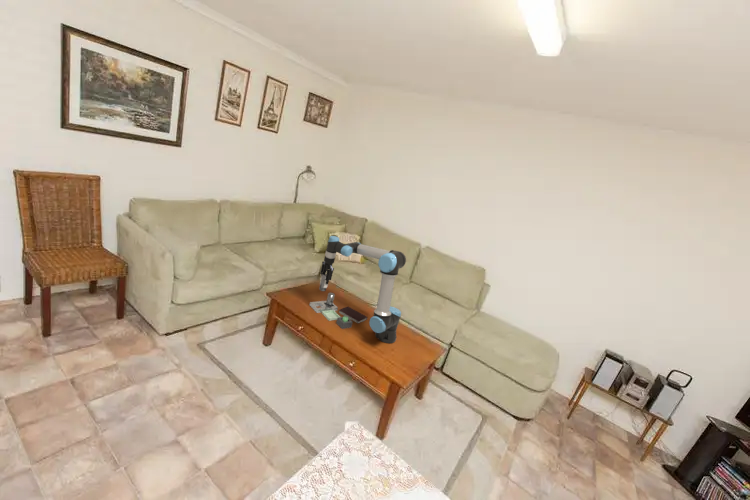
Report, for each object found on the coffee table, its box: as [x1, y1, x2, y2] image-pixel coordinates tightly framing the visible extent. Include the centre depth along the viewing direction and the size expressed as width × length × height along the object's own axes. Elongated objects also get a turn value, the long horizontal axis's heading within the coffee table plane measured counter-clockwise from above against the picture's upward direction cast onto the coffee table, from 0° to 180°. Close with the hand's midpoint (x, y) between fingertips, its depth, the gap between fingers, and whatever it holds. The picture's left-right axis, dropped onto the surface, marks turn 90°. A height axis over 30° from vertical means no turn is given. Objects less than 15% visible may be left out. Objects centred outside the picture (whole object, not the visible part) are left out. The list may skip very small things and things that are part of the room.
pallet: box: [309, 300, 339, 314], centre depth 267 cm, size 12×18×3 cm, turn 128°
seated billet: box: [325, 292, 336, 307], centre depth 269 cm, size 5×5×12 cm
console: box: [335, 316, 354, 330], centre depth 250 cm, size 8×8×5 cm
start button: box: [342, 315, 348, 322], centre depth 249 cm, size 4×4×5 cm
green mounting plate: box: [321, 310, 341, 322], centre depth 258 cm, size 11×10×2 cm
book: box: [338, 306, 368, 324], centre depth 267 cm, size 12×19×3 cm, turn 58°
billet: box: [319, 273, 327, 292], centre depth 259 cm, size 5×5×12 cm
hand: (323, 285), depth 259 cm, fingers closed on billet, 5 cm apart
